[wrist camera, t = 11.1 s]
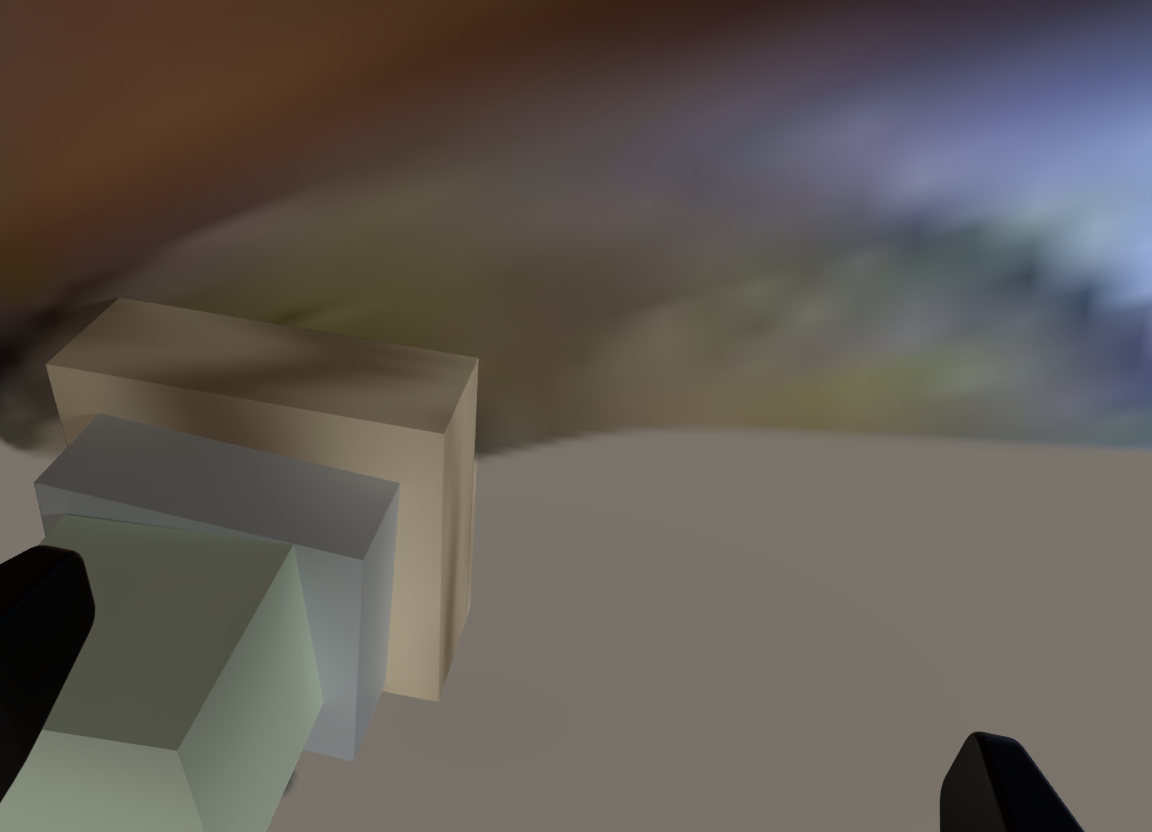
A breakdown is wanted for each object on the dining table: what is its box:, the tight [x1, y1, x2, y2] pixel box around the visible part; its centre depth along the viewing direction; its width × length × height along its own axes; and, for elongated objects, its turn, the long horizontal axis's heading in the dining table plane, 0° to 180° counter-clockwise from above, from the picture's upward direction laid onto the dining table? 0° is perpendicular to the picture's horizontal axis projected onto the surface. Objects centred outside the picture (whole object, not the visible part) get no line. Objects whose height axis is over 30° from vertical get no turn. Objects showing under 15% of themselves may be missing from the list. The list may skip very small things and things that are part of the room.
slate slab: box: [34, 413, 400, 762], centre depth 24 cm, size 7×7×2 cm
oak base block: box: [46, 297, 478, 702], centre depth 26 cm, size 9×9×4 cm
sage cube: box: [0, 515, 323, 832], centre depth 20 cm, size 5×5×5 cm
